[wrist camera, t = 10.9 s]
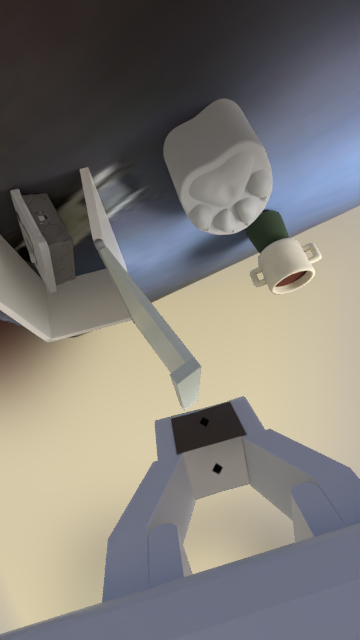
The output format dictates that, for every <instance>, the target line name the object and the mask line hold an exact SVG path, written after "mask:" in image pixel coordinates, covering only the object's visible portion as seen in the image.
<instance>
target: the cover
mask: <svg viewBox="0 0 360 640" xmlns="http://www.w3.org/2000/svg"><path fill="white" fill-rule="evenodd" d="M100 253H101V255H102V257H103V259H104V261H105V263H106V265H107V267H108V269H109V271H110V273H111V275H112V277H113V279H114V281H115V283H116V285H117V287H118V289H119V291H120V294H121V296H122V298H123V300H124V302H125V304H126V306H127V308H128V310H129V312H130V314H131V316H132V318H133V320H134V322H135V324H136V326H137V327H138V329H139V330H140V332H141V333H142V334H143V335H144V337H145V338H146V340H147V341H148V343H149V344H150V345H151V346H152V348H153V349H154V351H155V352H156V353H157V355H158V356H159V358H160V359H161V360H162V362H163V363H164V364H165V366H166V367H167V368H168V370H169V371H170V372H171V374H170V376H171V379H172V382H173V385H174V388H175V391H176V394H177V397H178V399H179V402H180V405H181V406H182V408H183V409H184V410H186V409H187V408H189V407H190V406H191V405H193V404H194V403H195V402H196V401H198V393H199V384H200V374H201V366H200V364H199V363H198V362H197V360H196V359H195V358H194V357H193V355H192V354H191V353H190V352H189V350H188V349H187V348H186V346H185V345H184V344H183V343H182V341H181V340H180V339H179V338H178V336H177V335H176V334H175V333H174V331H173V330H172V329H171V327H170V326H169V325H168V324H167V323H166V321H165V320H164V319H163V317H162V316H161V315H160V314H159V312H158V311H157V310H156V308H155V307H154V306H153V305H152V303H151V302H150V301H149V300H148V298H147V297H146V296H145V295H144V293H143V292H142V291H141V290H140V288H139V287H138V286H137V284H136V283H135V282H134V281H133V279H132V278H131V277H130V276H129V274H128V273H127V272H126V271H125V269H124V268H123V267H122V265H121V264H120V263H119V262H118V260H117V259H116V258H115V257H114V255H113V254H112V253H111V252H110V250H109V249H108V248H107V247H105V248H103V249H102V250H100Z"/></svg>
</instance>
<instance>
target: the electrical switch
mask: <svg viewBox="0 0 360 640" xmlns="http://www.w3.org/2000/svg"><path fill="white" fill-rule="evenodd" d="M10 193H11V197H12V201H13V204H14V208H15V211H16V214H17V218H18V221H19V224H20V228H21V231H22V235H23V238H24V241H25V244H26V247H27V249H28V251H29V255H30V259H31V262H32V263H34V264H35V266H36V268H37V270H38V272H39V274H40V276H41V278H42V280H43V281H44V283H45V285H46V287H47V288H48V290H49V292H50V293H52V292H57V288H56V286H57V285H59V284H63V283H65V282H67V281H70V280H74V279H76V275H75V263H74V252H73V240H72V238H71V236H70V234H69V232H68V231H67V229H66V227H65V225H64V224H63V222H62V220H61V218H60V216H59V215H58V213H57V211H56V209H55V208H54V206H53V204H52V202H51V201H50V199H49V197H48V195H47V193H43V194H36V195H34V194H29V195H21V193H20V191H19V189H13V190H11V191H10ZM69 239H70V240H69Z"/></svg>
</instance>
